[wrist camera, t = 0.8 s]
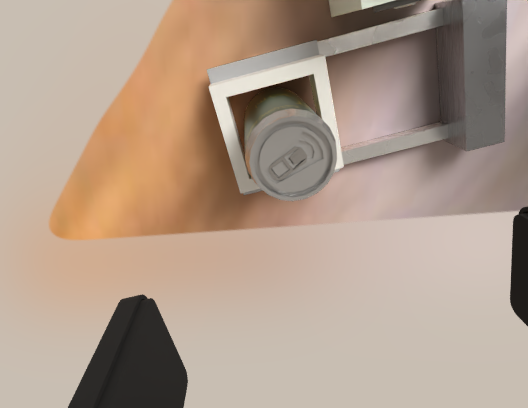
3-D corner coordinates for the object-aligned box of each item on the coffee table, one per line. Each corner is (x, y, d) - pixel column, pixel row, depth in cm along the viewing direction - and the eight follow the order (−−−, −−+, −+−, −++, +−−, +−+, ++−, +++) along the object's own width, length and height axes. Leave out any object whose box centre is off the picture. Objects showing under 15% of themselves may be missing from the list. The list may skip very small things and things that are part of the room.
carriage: (315, 39, 28) (322, 39, 26) (338, 169, 32) (346, 179, 30) (207, 69, 28) (203, 71, 26) (243, 193, 33) (244, 205, 30)
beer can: (269, 161, 33) (282, 221, 22) (230, 113, 31) (225, 152, 20) (318, 124, 32) (359, 168, 21) (282, 72, 30) (305, 90, 19)
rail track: (473, -7, 29) (507, -14, 25) (475, 130, 33) (504, 141, 29) (247, 54, 30) (248, 56, 26) (278, 180, 34) (283, 197, 30)
